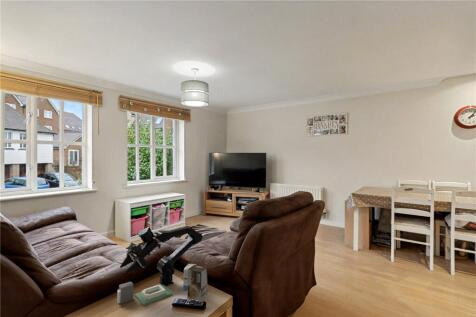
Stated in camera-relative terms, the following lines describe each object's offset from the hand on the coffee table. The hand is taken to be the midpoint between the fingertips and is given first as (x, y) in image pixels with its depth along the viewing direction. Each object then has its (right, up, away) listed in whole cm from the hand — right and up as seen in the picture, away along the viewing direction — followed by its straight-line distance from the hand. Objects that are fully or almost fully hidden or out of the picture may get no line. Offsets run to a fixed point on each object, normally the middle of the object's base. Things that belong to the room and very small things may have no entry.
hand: (122, 270), depth 129 cm
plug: (+2, -15, -1) cm, 16 cm away
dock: (+15, -16, +4) cm, 22 cm away
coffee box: (+39, -16, +2) cm, 42 cm away
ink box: (+33, -16, +14) cm, 39 cm away
